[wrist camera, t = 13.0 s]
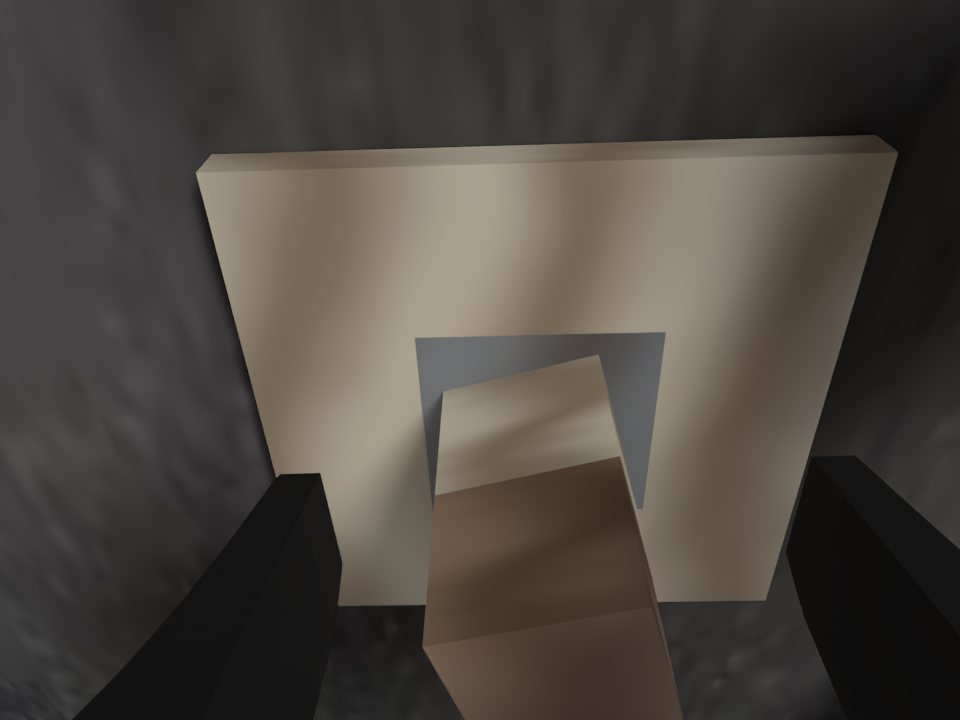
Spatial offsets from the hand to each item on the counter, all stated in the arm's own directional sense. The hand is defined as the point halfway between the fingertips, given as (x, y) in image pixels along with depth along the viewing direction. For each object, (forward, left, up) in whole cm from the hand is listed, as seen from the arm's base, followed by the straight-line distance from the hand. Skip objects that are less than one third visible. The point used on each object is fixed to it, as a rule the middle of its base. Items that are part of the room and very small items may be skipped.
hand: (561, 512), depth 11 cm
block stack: (0, +6, -9) cm, 10 cm away
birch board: (0, +6, -10) cm, 11 cm away
